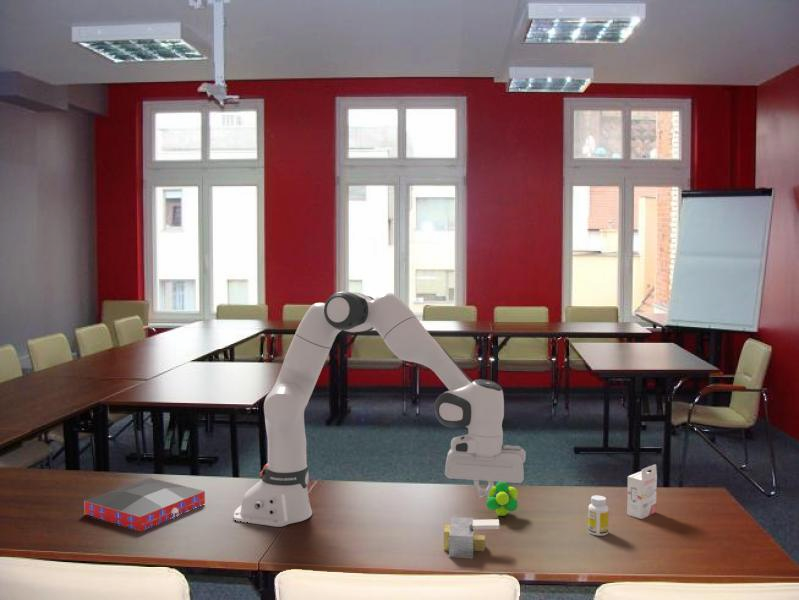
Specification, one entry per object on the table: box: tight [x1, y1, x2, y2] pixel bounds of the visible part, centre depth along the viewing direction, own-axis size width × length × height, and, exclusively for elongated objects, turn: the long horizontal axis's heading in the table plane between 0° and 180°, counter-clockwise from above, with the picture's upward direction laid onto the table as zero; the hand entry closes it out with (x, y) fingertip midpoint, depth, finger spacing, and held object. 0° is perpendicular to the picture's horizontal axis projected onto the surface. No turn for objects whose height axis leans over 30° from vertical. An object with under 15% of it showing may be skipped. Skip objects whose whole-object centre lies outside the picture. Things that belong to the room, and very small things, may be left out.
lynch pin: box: [443, 523, 486, 552], centre depth 185 cm, size 10×5×5 cm, turn 83°
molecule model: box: [485, 481, 519, 517], centre depth 207 cm, size 8×8×8 cm
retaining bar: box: [469, 518, 500, 530], centre depth 184 cm, size 1×4×8 cm
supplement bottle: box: [587, 494, 610, 537], centre depth 195 cm, size 5×5×10 cm
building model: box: [83, 477, 206, 532], centre depth 210 cm, size 24×25×7 cm
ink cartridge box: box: [626, 464, 658, 520], centre depth 209 cm, size 9×5×15 cm, turn 131°
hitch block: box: [448, 516, 475, 560], centre depth 185 cm, size 6×12×6 cm, turn 173°
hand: (483, 496), depth 183 cm, fingers closed
